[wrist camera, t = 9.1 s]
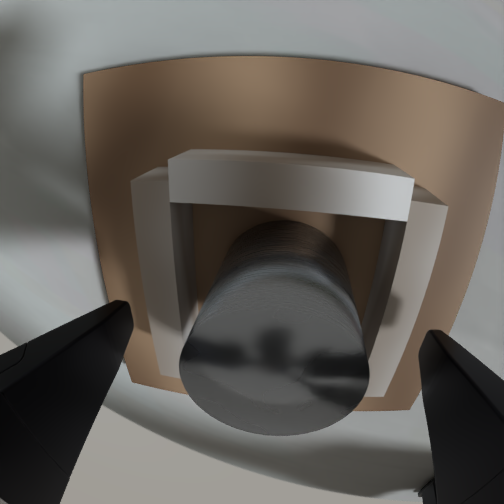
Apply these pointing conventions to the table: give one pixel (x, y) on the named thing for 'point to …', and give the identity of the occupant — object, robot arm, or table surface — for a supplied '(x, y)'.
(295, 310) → the cylinder
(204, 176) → the wooden board with frame
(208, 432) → the table surface
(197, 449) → the table surface
